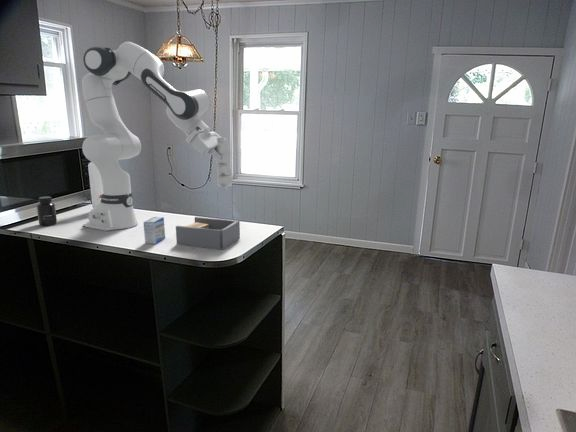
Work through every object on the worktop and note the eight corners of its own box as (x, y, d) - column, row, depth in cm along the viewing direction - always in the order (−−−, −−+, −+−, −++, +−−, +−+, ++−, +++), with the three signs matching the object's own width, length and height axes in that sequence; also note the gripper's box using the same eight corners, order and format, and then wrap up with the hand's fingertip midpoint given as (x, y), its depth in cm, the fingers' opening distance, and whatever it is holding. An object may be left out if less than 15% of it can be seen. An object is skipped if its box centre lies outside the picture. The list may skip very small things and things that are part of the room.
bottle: (114, 210, 203) (109, 153, 196) (103, 213, 196) (97, 155, 189) (100, 209, 206) (95, 153, 199) (89, 212, 198) (82, 154, 191)
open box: (176, 244, 153) (175, 226, 151) (196, 233, 167) (196, 216, 165) (223, 249, 148) (222, 231, 146) (239, 237, 162) (239, 220, 160)
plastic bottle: (231, 188, 165) (227, 138, 160) (214, 188, 165) (210, 138, 160) (234, 185, 171) (231, 137, 166) (219, 185, 172) (215, 137, 167)
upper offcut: (181, 235, 156) (181, 227, 155) (197, 229, 163) (196, 222, 163) (193, 237, 153) (193, 229, 152) (209, 231, 161) (208, 224, 160)
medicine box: (155, 244, 153) (154, 222, 150) (144, 243, 153) (143, 221, 151) (165, 238, 160) (164, 216, 158) (155, 237, 161) (153, 216, 159)
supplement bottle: (47, 227, 173) (43, 199, 170) (35, 225, 175) (31, 198, 172) (61, 223, 179) (57, 196, 176) (49, 221, 181) (45, 195, 178)
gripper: (205, 135, 175) (229, 158, 176) (183, 141, 156) (209, 166, 157) (214, 125, 173) (237, 147, 173) (192, 129, 154) (219, 155, 154)
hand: (224, 156), depth 165 cm, fingers closed on plastic bottle, 6 cm apart
